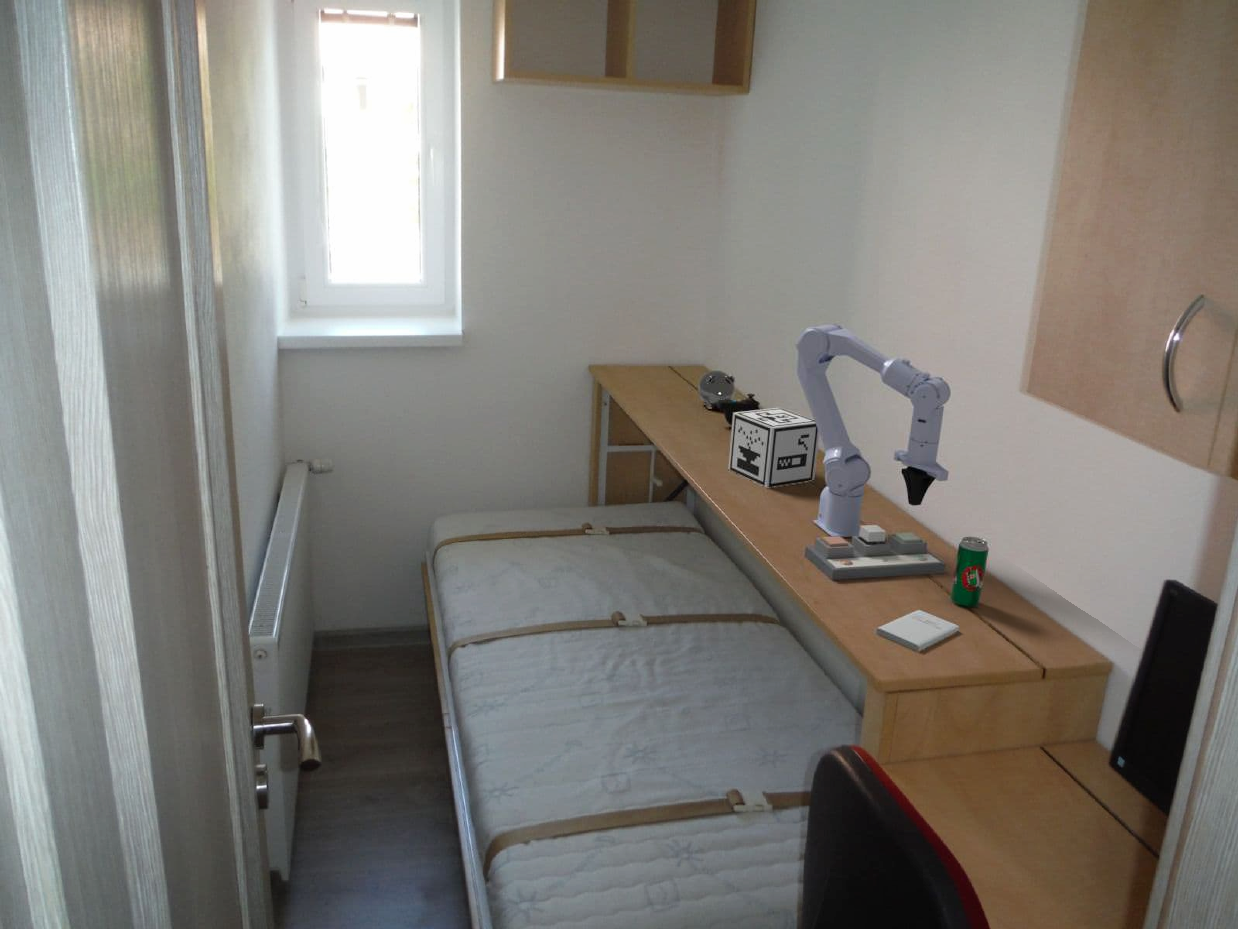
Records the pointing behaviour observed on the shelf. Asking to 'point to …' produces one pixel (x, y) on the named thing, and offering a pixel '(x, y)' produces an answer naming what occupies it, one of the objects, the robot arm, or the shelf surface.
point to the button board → (871, 549)
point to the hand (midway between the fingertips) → (914, 504)
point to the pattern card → (883, 561)
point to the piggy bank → (716, 387)
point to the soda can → (969, 571)
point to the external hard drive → (917, 630)
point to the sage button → (907, 537)
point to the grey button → (872, 533)
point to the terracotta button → (834, 541)
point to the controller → (737, 406)
